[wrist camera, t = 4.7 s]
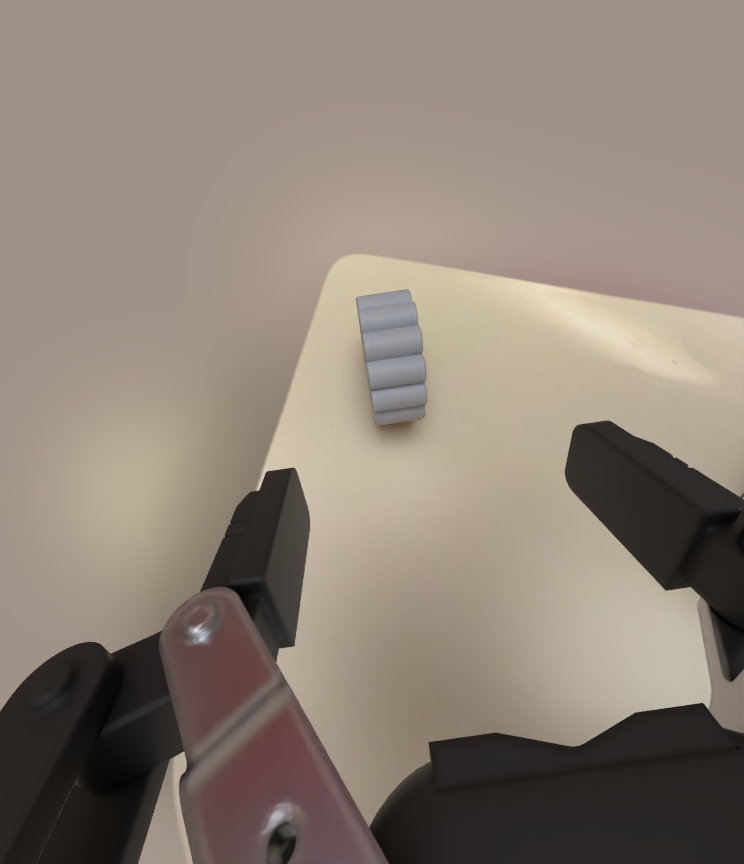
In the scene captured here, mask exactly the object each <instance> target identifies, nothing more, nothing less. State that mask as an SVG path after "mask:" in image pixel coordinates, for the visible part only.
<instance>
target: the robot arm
mask: <svg viewBox="0 0 744 864" xmlns="http://www.w3.org/2000/svg"><path fill="white" fill-rule="evenodd" d="M565 477H566V481H567V483H568V485H569V487H570V489H571V490H572V491H573V492H574V493H575V495H576V496H577V497H578V498H579V499H580V500H581V501H582V502H583V503H584V504H585V505H586V506H587V507H588V508H589V509H590V510H591V512H592V513H593V514H594V515H595V516H596V517H597V518H598V519H599V520H600V521H601V522H602V523H603V524H604V525H605V526H606V527H607V529H608V530H609V531H610V532H611V533H612V534H613V535H614V536H615V537H616V538H617V539H618V540H619V541H620V542H621V543H622V545H623V546H624V547H625V548H626V549H627V550H628V551H629V552H630V553H631V554H632V555H633V556H634V557H635V558H636V559H637V560H638V562H639V563H640V564H641V565H642V566H643V567H644V568H645V569H646V570H647V571H648V572H649V573H650V574H651V575H652V576H653V577H654V579H655V580H656V581H657V582H658V583H659V584H660V585H661V586H662V587H663V588H664V589H665V590H673V589H680V588H687V587H692V588H693V589H694V590H695V591H696V592H697V593H698V594H699V595H700V596H701V597H700V599H699V600H698V604H697V606H698V613H699V619H700V625H701V630H702V636H703V642H704V647H705V653H706V659H707V664H708V670H709V676H710V681H711V690H712V694H711V703H710V706H709V710H708V709H707V707H706V706H705V705H704V704H703V703H699V704H692V705H685V706H678V707H672V708H665V709H658V710H651V711H644V712H637V713H634V714H632V715H631V716H629V717H627V718H626V719H624V720H622V721H621V722H619V723H618V724H616V725H614V726H613V727H611V728H609V729H608V730H606V731H604V732H603V733H601V734H599V735H598V736H596V737H594V738H593V739H591V740H589V741H588V742H586V743H585V744H583V745H580V746H575V747H571V746H564V745H559V744H554V743H548V742H543V741H538V740H532V739H527V738H522V737H516V736H511V735H506V734H500V733H490V734H483V735H476V736H469V737H462V738H455V739H448V740H441V741H434V742H429V750H430V759H431V762H429V763H427V764H425V765H423V766H422V767H420V768H418V769H416V770H415V771H414V772H413V773H412V774H410V775H409V776H408V777H407V778H405V779H404V780H403V781H402V782H401V783H400V784H399V785H398V786H397V788H396V789H395V790H394V791H393V792H392V793H391V794H390V795H389V797H388V798H387V799H386V801H385V802H384V804H383V805H382V807H381V808H380V810H379V811H378V812H377V814H376V816H375V818H374V819H373V821H372V823H371V825H370V827H368V825H367V823H366V822H365V820H364V818H363V816H362V814H361V813H360V811H359V809H358V807H357V806H356V804H355V802H354V800H353V798H352V797H351V795H350V793H349V791H348V789H347V788H346V786H345V784H344V782H343V781H342V779H341V777H340V775H339V773H338V772H337V770H336V768H335V766H334V764H333V763H332V761H331V759H330V757H329V756H328V754H327V752H326V750H325V748H324V747H323V745H322V743H321V741H320V740H319V738H318V736H317V734H316V732H315V731H314V729H313V727H312V725H311V723H310V722H309V720H308V718H307V716H306V715H305V713H304V711H303V709H302V707H301V706H300V704H299V702H298V700H297V699H296V697H295V695H294V693H293V691H292V690H291V688H290V686H289V684H288V683H287V681H286V680H285V678H284V676H283V674H282V672H281V671H280V669H279V667H278V665H277V664H276V661H277V655H278V650H279V648H286V647H293V646H294V645H295V637H296V630H297V622H298V615H299V607H300V600H301V592H302V585H303V577H304V570H305V562H306V555H307V547H308V540H309V532H310V516H309V510H308V506H307V503H306V500H305V497H304V493H303V490H302V487H301V483H300V480H299V477H298V474H297V471H296V469H295V468H288V469H281V470H274V471H268V472H267V473H266V474H265V477H264V479H263V482H262V485H261V488H260V490H259V491H254V492H250V493H249V494H248V495H247V496H246V497H245V498H244V499H243V500H242V501H241V503H240V504H239V505H238V506H237V507H236V510H235V512H234V514H233V517H232V519H231V524H230V525H229V526H228V528H227V531H226V533H225V538H223V540H222V542H221V545H220V547H219V549H218V552H217V554H216V556H215V559H214V561H213V564H212V565H211V568H210V570H209V572H208V575H207V577H206V579H205V582H204V584H203V586H202V589H201V591H200V592H199V593H197V594H196V595H194V596H192V597H191V598H189V599H188V600H187V601H185V602H184V603H183V604H182V605H181V606H180V607H179V608H178V609H177V610H176V611H175V612H174V613H173V614H172V615H171V617H170V618H169V620H168V621H167V623H166V624H165V626H164V628H163V630H162V631H160V632H158V633H156V634H154V635H152V636H150V637H148V638H145V639H143V640H141V641H139V642H136V643H134V644H132V645H129V646H127V647H125V648H123V649H120V650H118V651H116V652H114V653H111V654H110V653H109V652H108V651H107V650H106V649H105V648H104V647H103V646H101V645H100V644H99V643H96V642H85V643H80V644H77V645H74V646H72V647H69V648H67V649H65V650H63V651H62V652H59V653H58V654H56V655H55V656H53V657H51V658H50V659H49V660H47V661H46V662H45V663H43V664H42V665H41V666H39V667H38V668H37V669H36V670H35V671H34V672H33V673H31V674H30V675H29V676H28V677H27V678H26V679H25V680H24V681H23V683H22V684H21V685H20V686H19V687H18V688H17V689H16V691H15V692H14V693H13V694H12V696H11V697H10V698H9V700H8V701H7V703H6V704H5V705H4V707H3V709H2V710H1V711H0V864H138V861H139V858H140V855H141V852H142V849H143V845H144V842H145V839H146V836H147V832H148V829H149V826H150V823H151V819H152V816H153V813H154V809H155V806H156V803H157V799H158V796H159V793H160V790H161V786H162V783H163V780H164V777H165V774H166V770H167V767H168V763H169V760H170V759H171V758H173V757H175V756H176V755H178V754H180V753H182V752H184V751H185V755H186V761H187V769H186V772H185V773H183V774H182V776H181V778H180V783H179V794H180V803H181V809H182V814H183V819H184V823H185V828H186V832H187V837H188V842H189V846H190V851H191V855H192V860H193V864H744V500H743V499H742V498H740V497H738V496H737V495H735V494H734V493H732V492H731V491H729V490H727V489H726V488H724V487H723V486H721V485H719V484H718V483H716V482H715V481H713V480H711V479H710V478H708V477H707V476H705V475H703V474H702V473H700V472H699V471H697V470H695V469H694V468H689V467H688V465H687V464H686V463H684V462H683V461H681V460H679V459H678V458H673V455H671V454H670V453H668V452H667V451H665V450H663V449H662V448H660V447H659V446H657V445H655V444H654V443H651V442H648V441H646V440H643V439H640V438H638V437H635V436H633V435H631V434H630V433H628V432H627V431H625V430H624V429H622V428H620V427H619V426H617V425H616V424H614V423H613V422H611V421H600V422H594V423H587V424H580V425H577V426H576V427H575V428H574V430H573V433H572V438H571V443H570V448H569V453H568V457H567V462H566V467H565ZM70 791H71V792H70ZM69 793H70V794H69ZM68 795H69V796H68ZM67 797H68V798H67ZM66 799H67V800H66ZM61 810H62V811H61ZM60 812H61V813H60ZM59 814H60V815H59ZM58 816H59V817H58ZM57 818H58V819H57ZM52 829H53V830H52ZM51 831H52V832H51ZM50 833H51V834H50ZM49 835H50V836H49ZM48 837H49V838H48ZM44 846H45V847H44ZM43 848H44V849H43ZM42 850H43V851H42ZM41 852H42V853H41ZM40 854H41V855H40Z"/></svg>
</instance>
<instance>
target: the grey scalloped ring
mask: <svg viewBox="0 0 744 864" xmlns="http://www.w3.org/2000/svg"><path fill="white" fill-rule="evenodd" d="M356 302H357V310H358V317H359V324H360V331H361V338H362V344H363V352H364V358H365V365H366V372H367V378H368V385H369V391H370V398H371V404H372V411H373V417H374V423H375V426H381V425H387V424H394V423H401V422H407V421H414V420H420V419H421V418H423V417H424V416H425V404H426V402H427V393H426V386H425V380H426V366H425V360H424V357H423V354H422V352H423V340H422V333H421V329H420V327H419V325H418V315H417V309H416V305H415V303H414V302H412V298H411V293H410V291H409V290H408V289H407V290H400V291H393V292H387V293H380V294H374V295H367V296H360V297H356Z"/></svg>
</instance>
